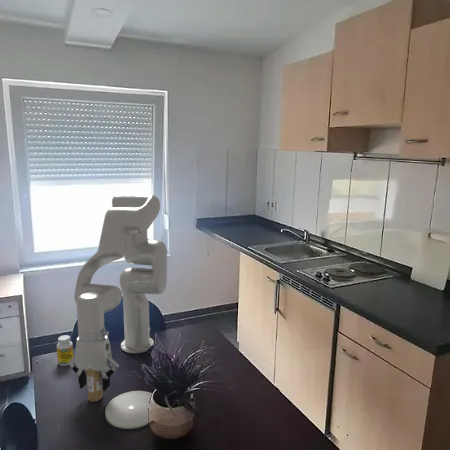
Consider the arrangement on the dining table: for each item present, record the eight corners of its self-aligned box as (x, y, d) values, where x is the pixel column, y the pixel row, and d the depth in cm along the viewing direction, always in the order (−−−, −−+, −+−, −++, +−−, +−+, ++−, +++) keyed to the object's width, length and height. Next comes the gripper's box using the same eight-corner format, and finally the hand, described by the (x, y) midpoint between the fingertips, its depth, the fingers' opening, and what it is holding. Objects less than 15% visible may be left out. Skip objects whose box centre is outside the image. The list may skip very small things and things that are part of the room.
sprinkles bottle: (104, 399, 126) (102, 359, 123) (89, 404, 124) (87, 363, 121) (100, 391, 130) (98, 352, 127) (85, 396, 127) (83, 356, 125)
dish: (118, 392, 130) (118, 388, 129) (167, 397, 127) (167, 393, 127) (95, 425, 114) (95, 421, 114) (150, 431, 112) (150, 427, 112)
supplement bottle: (71, 357, 151) (69, 332, 149) (75, 363, 146) (74, 338, 145) (56, 361, 148) (54, 336, 146) (60, 367, 143) (58, 342, 142)
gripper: (124, 330, 125) (126, 383, 128) (71, 326, 127) (74, 377, 131) (114, 341, 118) (116, 397, 121) (58, 336, 120) (62, 391, 124)
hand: (94, 386), depth 126 cm, fingers open, 6 cm apart
